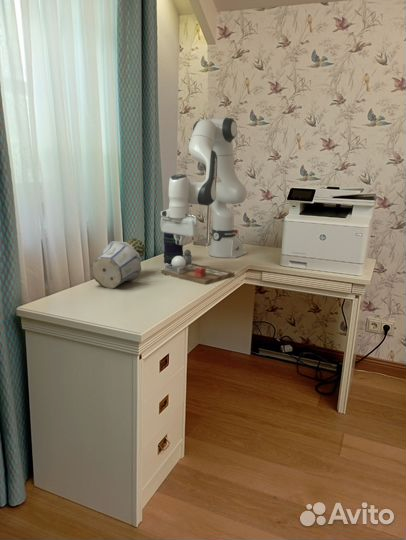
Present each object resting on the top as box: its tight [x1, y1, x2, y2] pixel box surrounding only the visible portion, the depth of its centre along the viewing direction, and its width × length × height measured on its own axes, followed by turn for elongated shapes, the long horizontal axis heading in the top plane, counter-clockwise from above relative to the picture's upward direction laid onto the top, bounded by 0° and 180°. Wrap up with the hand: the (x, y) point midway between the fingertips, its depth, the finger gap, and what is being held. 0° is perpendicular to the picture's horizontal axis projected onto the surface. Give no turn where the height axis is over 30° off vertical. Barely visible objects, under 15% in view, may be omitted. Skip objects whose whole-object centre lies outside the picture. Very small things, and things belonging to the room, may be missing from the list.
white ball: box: [171, 256, 186, 268], centre depth 190 cm, size 6×6×6 cm
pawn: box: [183, 249, 192, 265], centre depth 199 cm, size 4×4×8 cm
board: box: [160, 262, 235, 285], centre depth 190 cm, size 20×26×5 cm
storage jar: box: [163, 232, 184, 265], centre depth 213 cm, size 10×10×15 cm
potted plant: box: [90, 237, 146, 289], centre depth 177 cm, size 18×18×30 cm
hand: (179, 244), depth 189 cm, fingers closed
